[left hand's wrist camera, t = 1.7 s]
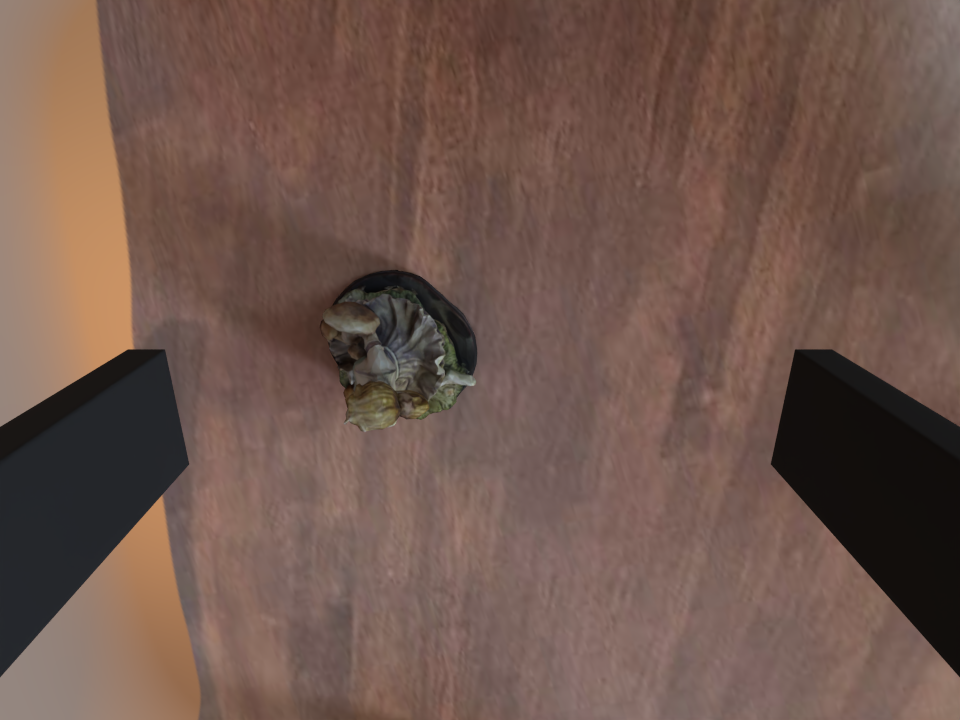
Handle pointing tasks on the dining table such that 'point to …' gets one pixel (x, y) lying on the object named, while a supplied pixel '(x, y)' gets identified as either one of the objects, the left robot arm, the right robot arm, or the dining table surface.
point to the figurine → (398, 349)
